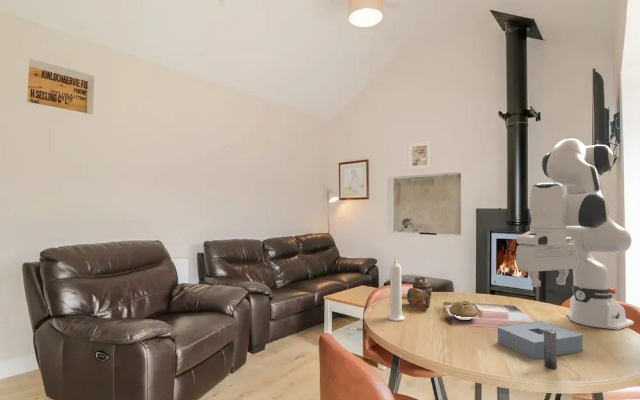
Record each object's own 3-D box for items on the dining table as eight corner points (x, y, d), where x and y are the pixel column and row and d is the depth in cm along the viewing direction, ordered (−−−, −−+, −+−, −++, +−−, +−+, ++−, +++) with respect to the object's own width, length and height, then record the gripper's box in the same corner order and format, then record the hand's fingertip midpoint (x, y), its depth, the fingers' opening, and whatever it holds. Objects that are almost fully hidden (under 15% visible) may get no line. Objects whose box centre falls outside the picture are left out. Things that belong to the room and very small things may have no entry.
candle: (392, 314, 147) (392, 256, 148) (407, 318, 142) (407, 257, 143) (384, 318, 141) (384, 258, 142) (400, 322, 137) (399, 259, 138)
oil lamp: (477, 314, 147) (477, 296, 147) (478, 325, 134) (477, 305, 134) (450, 311, 152) (450, 293, 152) (448, 321, 138) (447, 301, 138)
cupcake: (423, 300, 170) (423, 280, 170) (408, 296, 178) (408, 277, 178) (436, 297, 175) (436, 278, 175) (421, 294, 183) (421, 275, 184)
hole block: (542, 335, 123) (542, 321, 123) (582, 351, 109) (582, 335, 109) (497, 342, 117) (497, 327, 117) (534, 359, 103) (534, 342, 103)
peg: (549, 363, 100) (548, 329, 101) (559, 368, 97) (558, 332, 98) (541, 365, 99) (541, 330, 100) (551, 369, 97) (550, 333, 97)
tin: (406, 303, 165) (406, 286, 165) (412, 303, 166) (412, 285, 166) (425, 312, 150) (425, 293, 150) (431, 312, 151) (431, 292, 151)
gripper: (563, 236, 106) (564, 281, 105) (511, 237, 100) (512, 285, 99) (584, 237, 100) (586, 285, 99) (530, 239, 93) (531, 290, 93)
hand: (548, 285), depth 99 cm, fingers open, 8 cm apart
